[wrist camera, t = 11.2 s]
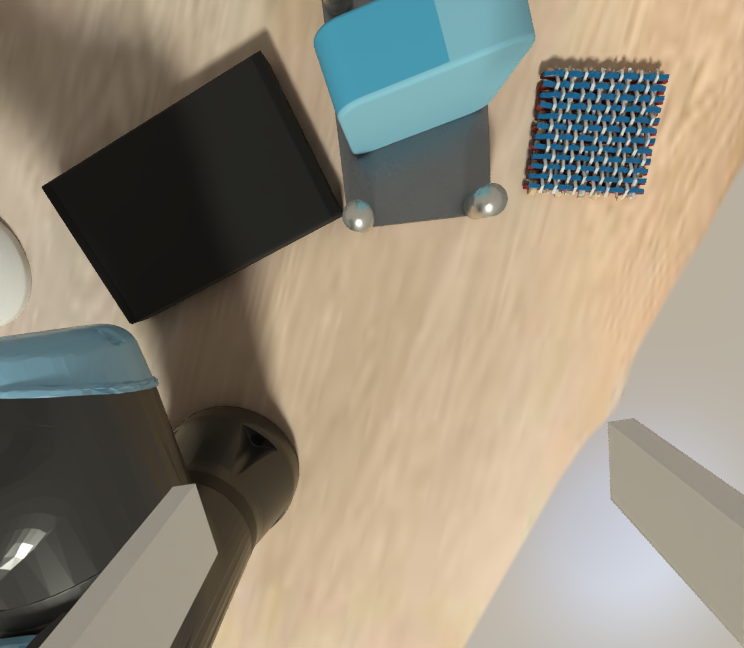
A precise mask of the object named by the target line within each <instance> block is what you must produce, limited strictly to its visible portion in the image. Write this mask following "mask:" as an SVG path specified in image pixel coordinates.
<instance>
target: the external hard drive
mask: <svg viewBox="0 0 744 648" xmlns="http://www.w3.org/2000/svg"><path fill="white" fill-rule="evenodd" d="M42 189H43V191H44V192H45V194H46V195H47V197H48V198H49V200H50V201H51V203H52V204H53V206H54V207H55V209H56V211H57V212H58V214H59V215H60V217H61V218H62V220H63V221H64V223H65V224H66V226H67V227H68V229H69V231H70V232H71V234H72V235H73V237H74V238H75V240H76V241H77V243H78V244H79V246H80V247H81V249H82V251H83V252H84V254H85V255H86V257H87V258H88V260H89V261H90V263H91V264H92V266H93V267H94V269H95V271H96V272H97V274H98V275H99V277H100V278H101V280H102V281H103V283H104V284H105V286H106V287H107V289H108V291H109V292H110V294H111V295H112V297H113V298H114V300H115V301H116V303H117V304H118V306H119V307H120V309H121V311H122V312H123V314H124V315H125V317H126V318H127V320H128V321H129V323H131V324H134V323H137V322H140V321H143V320H146V319H148V318H150V317H152V316H154V315H156V314H158V313H160V312H162V311H164V310H165V309H167V308H169V307H171V306H173V305H175V304H177V303H179V302H181V301H183V300H184V299H186V298H188V297H190V296H192V295H194V294H196V293H198V292H200V291H202V290H203V289H205V288H207V287H209V286H211V285H213V284H215V283H217V282H219V281H221V280H222V279H224V278H226V277H228V276H230V275H232V274H234V273H236V272H238V271H239V270H241V269H243V268H245V267H247V266H249V265H251V264H253V263H255V262H257V261H258V260H260V259H262V258H264V257H266V256H268V255H270V254H272V253H274V252H276V251H277V250H279V249H281V248H283V247H285V246H287V245H289V244H291V243H293V242H295V241H296V240H298V239H300V238H302V237H304V236H306V235H308V234H310V233H312V232H314V231H315V230H317V229H319V228H321V227H323V226H325V225H327V224H329V223H331V222H332V221H334V220H336V219H338V218H340V217H342V216H343V212H342V210H341V208H340V206H339V204H338V202H337V200H336V198H335V196H334V194H333V192H332V190H331V188H330V186H329V184H328V182H327V180H326V178H325V176H324V174H323V172H322V170H321V168H320V166H319V164H318V162H317V160H316V158H315V156H314V154H313V151H312V149H311V147H310V145H309V143H308V141H307V139H306V137H305V135H304V133H303V131H302V129H301V127H300V125H299V123H298V121H297V119H296V117H295V115H294V113H293V111H292V109H291V107H290V105H289V103H288V101H287V99H286V97H285V95H284V93H283V90H282V88H281V86H280V84H279V82H278V80H277V78H276V76H275V74H274V72H273V70H272V68H271V66H270V64H269V63H268V61H267V60H266V58H265V57H264V55H263V54H262V53H261V51H258V52H257V53H255V54H254V55H252V56H250V57H249V58H247V59H246V60H244V61H242V62H241V63H239V64H238V65H236V66H234V67H233V68H231V69H230V70H228V71H226V72H225V73H223V74H222V75H220V76H218V77H217V78H215V79H214V80H212V81H210V82H209V83H207V84H206V85H204V86H202V87H201V88H199V89H198V90H196V91H194V92H193V93H191V94H189V95H188V96H186V97H185V98H183V99H181V100H180V101H178V102H177V103H175V104H173V105H172V106H170V107H169V108H167V109H165V110H164V111H162V112H161V113H159V114H157V115H156V116H154V117H153V118H151V119H149V120H148V121H146V122H145V123H143V124H141V125H140V126H138V127H137V128H135V129H133V130H132V131H130V132H129V133H127V134H125V135H124V136H122V137H121V138H119V139H117V140H116V141H114V142H113V143H111V144H109V145H108V146H106V147H105V148H103V149H101V150H100V151H98V152H97V153H95V154H93V155H92V156H90V157H89V158H87V159H85V160H84V161H82V162H81V163H79V164H77V165H76V166H74V167H73V168H71V169H69V170H68V171H66V172H65V173H63V174H61V175H60V176H58V177H57V178H55V179H53V180H52V181H50V182H49V183H47V184H45V185H44V186H42Z"/></svg>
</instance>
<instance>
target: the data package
mask: <svg viewBox="0 0 744 648" xmlns="http://www.w3.org/2000/svg"><path fill="white" fill-rule="evenodd" d="M534 41H535V32H534V28H533V23H532V18H531V13H530V9H529V4H528V0H374V1H371V2H369V3H367V4H365V5H362V6H360V7H358V8H355V9H353V10H351V11H348V12H346V13H344V14H341V15H339V16H337V17H335V18H333V19H331V20H329V21H328V22H326V23H325V24H324V25H323V26H322V27H321V28H320V29H319V30H318V32H317V33H316V35H315V38H314V47H315V51H316V54H317V57H318V60H319V63H320V66H321V69H322V72H323V75H324V78H325V81H326V84H327V87H328V90H329V93H330V96H331V99H332V102H333V106H334V109H335V112H336V115H337V118H338V120H339V122H340V125H341V127H342V129H343V132H344V134H345V136H346V139H347V141H348V143H349V146H350V148H351V150H352V152H353V153H354V154H364V153H368V152H371V151H373V150H376V149H379V148H381V147H384V146H387V145H389V144H392V143H394V142H397V141H400V140H402V139H405V138H408V137H410V136H413V135H416V134H418V133H421V132H423V131H426V130H429V129H431V128H434V127H437V126H439V125H442V124H445V123H447V122H450V121H452V120H455V119H458V118H460V117H463V116H466V115H468V114H471V113H473V112H475V111H477V110H479V109H481V108H483V107H484V106H486V105H487V104H488V103H489V102H490V101H491V100H492V99H493V97H494V96H495V95H496V93H497V92H498V90H499V89H500V88H501V86H502V85H503V84H504V82H505V81H506V80H507V78H508V77H509V76H510V74H511V73H512V72H513V70H514V69H515V68H516V66H517V65H518V64H519V62H520V61H521V60H522V58H523V57H524V56H525V54H526V53H527V52H528V50H529V49H530V48H531V46H532V45H533V43H534Z"/></svg>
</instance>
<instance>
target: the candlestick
mask: <svg viewBox="0 0 744 648" xmlns="http://www.w3.org/2000/svg"><path fill="white" fill-rule="evenodd" d="M30 293H31V271H30V267H29V263H28V260H27V257H26V255H25V252H24V250H23V248H22V247H21V245H20V243H19V242H18V240H17V239H16V237H15V236H14V235H13V233H12V232H11V231H10V230H9V229H8V228H7V227H6V226H5V225H4V224H3V223H2V222H1V221H0V327H1V326H4V325H6V324H8V323H10V322H12V321H13V320H15V319H16V318H17V317H18V316H19V315H20V314H21V313H22V311H23V310H24V308H25V307H26V305H27V303H28V300H29V297H30Z"/></svg>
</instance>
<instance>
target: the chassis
mask: <svg viewBox="0 0 744 648" xmlns="http://www.w3.org/2000/svg"><path fill="white" fill-rule="evenodd" d="M371 1H374V0H322V6H323V14H324V22H325V23H326V22H328V21H329V20H331V19H333V18H335V17H337V16H339V15H341V14H344V13H346V12H348V11H351V10H353V9H355V8H358V7H360V6H362V5H365V4H367V3H369V2H371ZM335 114H336V112H335ZM336 122H337V131H338V139H339V147H340V156H341V164H342V172H343V181H344V189H345V197H346V206H345V208H344V210H343V221H344V223H345V225H346V226H347V227H348V228H349V229H350V230H353V231H357V232H366V231H369V230H370V229H371V228H372V227H377V226H386V225H394V224H403V223H412V222H420V221H429V220H438V219H447V218H455V217H464V216H468V217H469V218H471V219H481V218H485V217H490V216H495V215H497V214H499V213H501V212H502V211H503V210H504V208H505V207H506V204H507V200H508V197H507V193H506V190H505V189H504V188H503V187H502V186H501V185H499V184H496V183H490V157H489V128H488V104H487V105H486V106H484V107H483V108H481V109H479V110H477V111H475V112H473V113H471V114H468V115H466V116H463V117H460V118H458V119H455V120H452V121H450V122H447V123H445V124H442V125H439V126H437V127H434V128H431V129H429V130H426V131H423V132H421V133H418V134H416V135H413V136H410V137H408V138H405V139H402V140H400V141H397V142H394V143H392V144H389V145H387V146H384V147H381V148H379V149H376V150H373V151H371V152H368V153H364V154H354V153H353V152H352V150H351V148H350V146H349V143H348V141H347V139H346V136H345V134H344V132H343V129H342V127H341V125H340V122H339V120H338V118H337V115H336Z"/></svg>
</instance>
